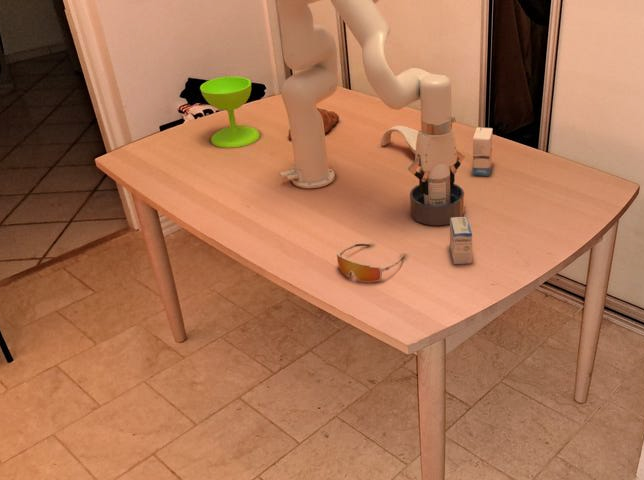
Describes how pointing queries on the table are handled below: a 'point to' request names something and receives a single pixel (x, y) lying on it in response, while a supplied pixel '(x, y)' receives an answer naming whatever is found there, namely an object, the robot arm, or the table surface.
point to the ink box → (482, 151)
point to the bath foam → (438, 186)
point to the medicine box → (460, 240)
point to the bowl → (436, 207)
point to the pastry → (326, 120)
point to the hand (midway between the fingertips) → (437, 188)
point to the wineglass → (230, 109)
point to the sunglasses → (361, 267)
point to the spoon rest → (407, 132)
